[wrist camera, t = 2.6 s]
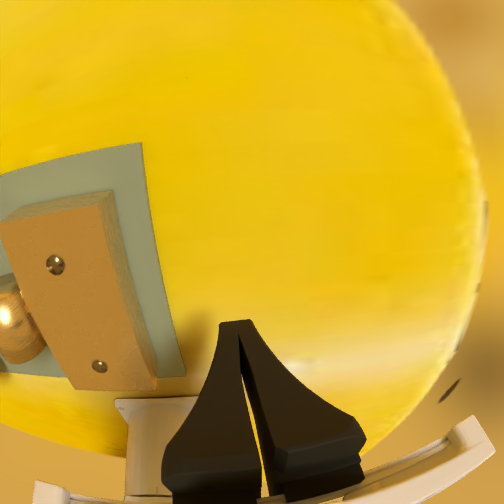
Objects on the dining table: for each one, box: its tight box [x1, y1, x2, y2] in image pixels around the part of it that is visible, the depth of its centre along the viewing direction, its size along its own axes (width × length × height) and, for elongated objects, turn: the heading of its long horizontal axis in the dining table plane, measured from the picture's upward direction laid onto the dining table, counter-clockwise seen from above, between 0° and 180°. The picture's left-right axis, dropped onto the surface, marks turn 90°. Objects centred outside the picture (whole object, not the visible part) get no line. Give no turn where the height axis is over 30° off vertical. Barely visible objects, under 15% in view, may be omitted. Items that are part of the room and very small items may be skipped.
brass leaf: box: [0, 189, 158, 391], centre depth 14 cm, size 12×10×4 cm
